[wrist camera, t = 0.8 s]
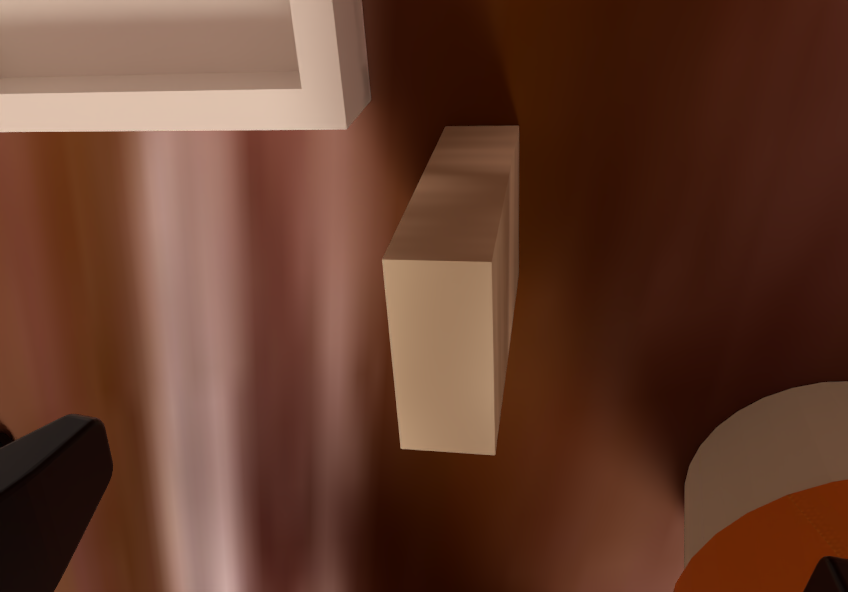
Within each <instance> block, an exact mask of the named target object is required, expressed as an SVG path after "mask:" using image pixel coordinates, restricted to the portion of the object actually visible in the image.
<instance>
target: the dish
mask: <svg viewBox="0 0 848 592" xmlns="http://www.w3.org/2000/svg"><path fill="white" fill-rule="evenodd" d="M370 101H371V92H370V81H369V71H368V60H367V50H366V39H365V29H364V18H363V8H362V0H0V132H68V131H204V130H339V129H348V127H349V126H350V125H351V124H352V123H353V121H354V120H355V119H356V118H357V117H358V115H359V114H360V113H361V112H362V111H363V109H364V108H365V107H366V106H367V105H368V103H369V102H370Z"/></svg>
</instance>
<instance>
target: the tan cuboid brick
mask: <svg viewBox="0 0 848 592" xmlns="http://www.w3.org/2000/svg"><path fill="white" fill-rule="evenodd" d="M382 264H383V274H384V284H385V294H386V304H387V314H388V324H389V335H390V345H391V355H392V365H393V375H394V385H395V396H396V406H397V416H398V426H399V436H400V446H401V449H411V450H426V451H440V452H455V453H469V454H484V455H495V453H496V445H497V437H498V430H499V422H500V414H501V407H502V399H503V391H504V384H505V376H506V368H507V361H508V353H509V345H510V338H511V330H512V322H513V315H514V307H515V299H516V292H517V284H518V276H519V126H445V128H444V130H443V132H442V134H441V136H440V139H439V141H438V143H437V145H436V147H435V149H434V151H433V153H432V155H431V157H430V160H429V162H428V164H427V166H426V168H425V170H424V172H423V174H422V176H421V179H420V181H419V183H418V185H417V187H416V189H415V191H414V193H413V195H412V198H411V200H410V202H409V204H408V206H407V208H406V210H405V212H404V214H403V216H402V219H401V221H400V223H399V225H398V227H397V229H396V231H395V233H394V235H393V238H392V240H391V242H390V244H389V246H388V248H387V250H386V252H385V254H384V257H383V259H382Z"/></svg>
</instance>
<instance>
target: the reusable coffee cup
mask: <svg viewBox="0 0 848 592" xmlns="http://www.w3.org/2000/svg"><path fill="white" fill-rule="evenodd" d="M824 556H833V557H839V558H844V559H848V381H841V382H822V383H816V384H811V385H806V386H800V387H795V388H791V389H788V390H785V391H782V392H779V393H776V394H773V395H770V396H767V397H764V398H762V399H760V400H758V401H756V402H754V403H752V404H750V405H749V406H747V407H745V408H743V409H741V410H739V411H737V412H736V413H735V414H733V415H732V416H731V417H729V418H728V419H727V420H725V421H724V422H723V423H721V424H720V425H719V426H718V427H716V428H715V429H714V431H713V432H712V433H711V434H710V435H709V436H708V437H707V438H706V440H705V441H704V442H703V443H702V444H701V445H700V447H699V449H698V450H697V452H696V454H695V456H694V458H693V459H692V461H691V463H690V465H689V469H688V473H687V477H686V481H685V493H684V571H683V573H682V574H681V576H680V578H679V579H678V581H677V583H676V585H675V588H674V592H803V591H804V589H805V587H806V585H807V583H808V581H809V579H810V577H811V575H812V573H813V571H814V569H815V567H816V565H817V563H818V562H819V560H820V559H821V558H823V557H824Z"/></svg>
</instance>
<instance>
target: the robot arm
mask: <svg viewBox="0 0 848 592" xmlns="http://www.w3.org/2000/svg"><path fill="white" fill-rule="evenodd" d="M112 471H113V462H112V457H111V452H110V448H109V443H108V439H107V434H106V430H105V426H104V424H103V422H102V421H101V420H100V419H98V418H95V417H89V416H84V415H79V414H69V415H66V416H63V417H61V418H59V419H57V420H55V421H53V422H51V423H49V424H47V425H45V426H43V427H41V428H39V429H37V430H35V431H33V432H31V433H29V434H27V435H25V436H23V437H21V438H19V439H17V440H15V441H13V442H12V440H11V439H10V438H9V437H8V436H7V435H5V434H3V433H0V592H54V590H55V588H56V587H57V585H58V583H59V581H60V579H61V578H62V576H63V574H64V572H65V570H66V568H67V566H68V564H69V562H70V560H71V558H72V556H73V554H74V552H75V550H76V548H77V546H78V544H79V542H80V540H81V538H82V536H83V534H84V532H85V530H86V528H87V526H88V524H89V522H90V520H91V518H92V516H93V514H94V512H95V510H96V508H97V506H98V504H99V502H100V500H101V498H102V496H103V494H104V492H105V490H106V488H107V486H108V484H109V481H110V479H111V476H112ZM803 592H848V559H844V558H839V557H833V556H824V557H823V558H821V559H820V560H819V562H818V563H817V565H816V567H815V569H814V571H813V573H812V575H811V577H810V579H809V581H808V583H807V585H806V587H805V589H804V591H803Z"/></svg>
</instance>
